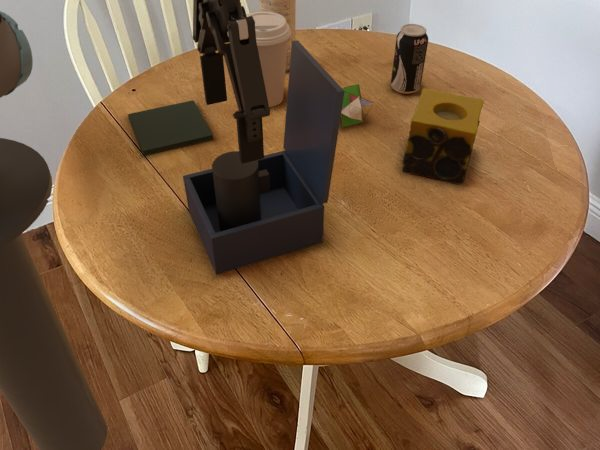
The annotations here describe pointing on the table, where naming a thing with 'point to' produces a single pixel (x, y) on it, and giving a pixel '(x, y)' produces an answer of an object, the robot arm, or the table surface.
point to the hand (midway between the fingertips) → (233, 128)
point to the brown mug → (238, 190)
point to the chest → (274, 217)
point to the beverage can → (409, 58)
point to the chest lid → (312, 120)
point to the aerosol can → (285, 5)
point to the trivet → (169, 127)
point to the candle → (442, 135)
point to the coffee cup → (272, 52)
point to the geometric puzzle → (352, 106)
